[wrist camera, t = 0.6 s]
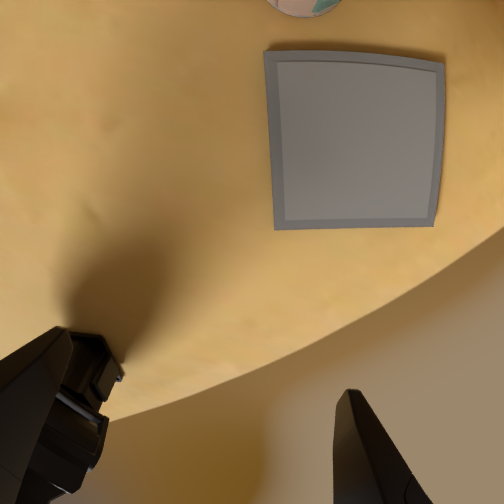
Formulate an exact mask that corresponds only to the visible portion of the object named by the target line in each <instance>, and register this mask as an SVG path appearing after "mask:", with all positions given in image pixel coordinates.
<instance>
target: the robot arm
mask: <svg viewBox="0 0 504 504" xmlns="http://www.w3.org/2000/svg"><path fill="white" fill-rule="evenodd" d="M122 379H123V377H122V375H121V373H120V371H119V369H118V367H117V365H116V363H115V361H114V359H113V357H112V355H111V353H110V351H109V348H108V346H107V344H106V342H105V340H104V338H103V337H102V336H100V335H91V334H82V333H72V332H68V330H67V329H65V328H62V327H59V326H56V327H53V328H52V329H50V330H49V331H47V332H45V333H44V334H42V335H40V336H39V337H37V338H35V339H34V340H32V341H31V342H29V343H27V344H26V345H24V346H22V347H21V348H19V349H18V350H16V351H14V352H13V353H11V354H10V355H8V356H6V357H5V358H3V359H2V360H0V504H49V503H50V501H52V500H54V499H55V498H58V497H60V496H62V495H63V494H65V493H69V494H73V493H74V492H76V491H77V490H78V489H79V488H80V487H81V485H82V482H83V479H84V477H85V474H86V472H90V471H91V470H92V469H93V468H94V467H95V465H96V464H97V462H98V460H99V458H100V456H101V453H102V450H103V446H104V441H105V437H106V432H107V427H108V423H109V418H108V417H106V416H105V415H104V416H103V415H102V414H100V413H99V409H100V407H101V405H102V403H103V402H106V401H107V400H108V397H109V395H110V393H111V390H112V388H113V386H114V383H115V382H121V381H122ZM333 494H334V495H333V500H334V501H333V504H433V503H432V501H431V500H430V499H429V498H428V496H427V495H426V494H425V492H424V490H423V489H422V487H421V486H420V484H419V483H418V481H417V480H416V478H415V477H414V475H413V474H412V472H411V470H410V469H409V467H408V465H407V464H406V462H405V461H404V459H403V458H402V456H401V454H400V453H399V451H398V449H397V448H396V446H395V445H394V443H393V441H392V440H391V438H390V437H389V435H388V433H387V432H386V430H385V429H384V427H383V426H382V424H381V423H380V421H379V419H378V418H377V416H376V415H375V413H374V412H373V410H372V408H371V407H370V405H369V404H368V402H367V400H366V399H365V397H364V396H363V394H362V393H361V391H360V390H358V389H346V390H345V392H344V393H343V395H342V396H341V398H340V399H339V401H338V403H337V406H336V416H335V427H334V439H333Z"/></svg>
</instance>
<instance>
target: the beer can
mask: <svg viewBox="0 0 504 504" xmlns="http://www.w3.org/2000/svg"><path fill="white" fill-rule="evenodd" d="M267 1H268V2H269V3H270V4H271V5H272V6H273V7H274V8H276V9H278V10H279V11H281V12H283V13H285V14H288V15H291V16H295V17H303V18H308V17H316V16H320V15H323V14H325V13H327V12H329V11H331V10H332V9H333V8H334V7H336V6H337V5H338V3H339V2H340V1H341V0H267Z"/></svg>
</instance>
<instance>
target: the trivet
mask: <svg viewBox="0 0 504 504" xmlns="http://www.w3.org/2000/svg"><path fill="white" fill-rule="evenodd" d="M263 53H264V66H265V80H266V94H267V109H268V124H269V140H270V157H271V175H272V194H273V214H274V230H301V229H337V228H384V227H434V220H435V214H436V207H437V200H438V193H439V184H440V175H441V165H442V153H443V138H444V115H445V73H444V64H443V63H438V62H433V61H427V60H421V59H415V58H408V57H401V56H393V55H384V54H374V53H363V52H348V51H323V50H288V51H263Z"/></svg>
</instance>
